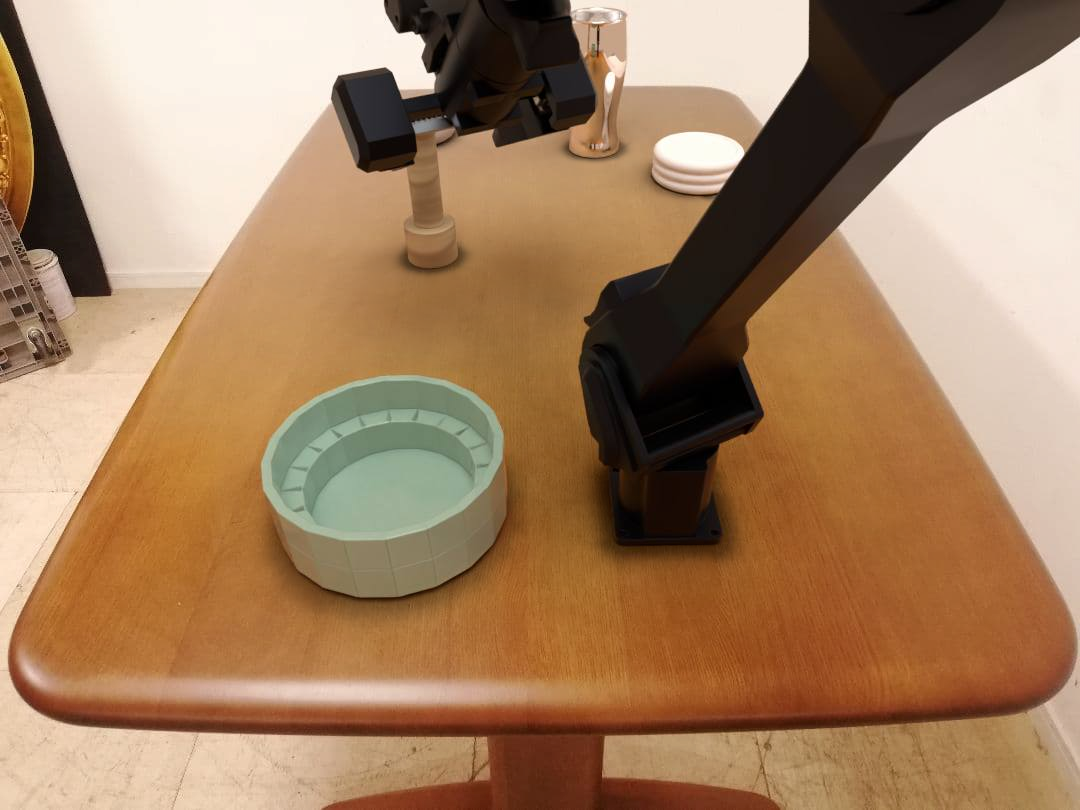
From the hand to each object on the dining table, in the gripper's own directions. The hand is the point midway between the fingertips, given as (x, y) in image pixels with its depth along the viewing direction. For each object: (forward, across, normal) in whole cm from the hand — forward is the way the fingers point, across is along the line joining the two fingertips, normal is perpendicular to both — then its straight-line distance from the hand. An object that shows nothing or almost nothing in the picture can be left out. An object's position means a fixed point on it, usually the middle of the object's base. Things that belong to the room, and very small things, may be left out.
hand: (445, 153), depth 63 cm
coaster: (+14, -33, +4) cm, 36 cm away
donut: (+34, -11, -16) cm, 39 cm away
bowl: (-8, +15, +25) cm, 30 cm away
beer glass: (+23, -28, -6) cm, 36 cm away
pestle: (+13, 0, +5) cm, 14 cm away
